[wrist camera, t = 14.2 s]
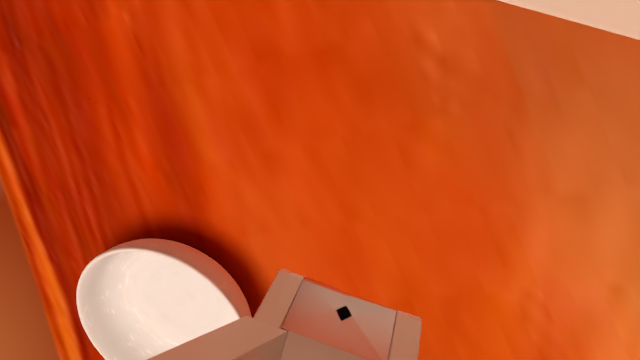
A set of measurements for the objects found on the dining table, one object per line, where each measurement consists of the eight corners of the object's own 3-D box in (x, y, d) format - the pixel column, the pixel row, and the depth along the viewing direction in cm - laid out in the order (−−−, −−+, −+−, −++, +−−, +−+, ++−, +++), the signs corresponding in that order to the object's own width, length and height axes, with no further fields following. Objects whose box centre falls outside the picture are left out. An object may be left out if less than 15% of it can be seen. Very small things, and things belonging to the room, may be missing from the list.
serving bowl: (168, 182, 57) (133, 212, 51) (305, 309, 60) (287, 352, 54) (82, 276, 67) (44, 311, 61) (203, 382, 70) (178, 425, 64)
